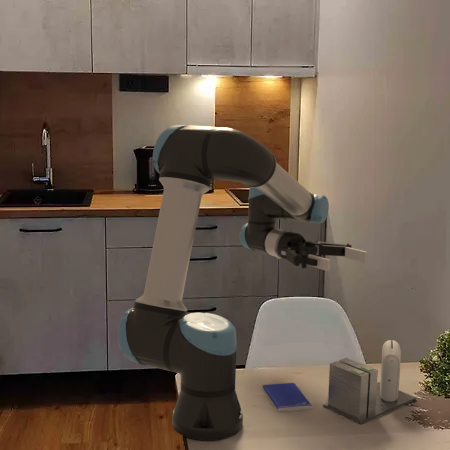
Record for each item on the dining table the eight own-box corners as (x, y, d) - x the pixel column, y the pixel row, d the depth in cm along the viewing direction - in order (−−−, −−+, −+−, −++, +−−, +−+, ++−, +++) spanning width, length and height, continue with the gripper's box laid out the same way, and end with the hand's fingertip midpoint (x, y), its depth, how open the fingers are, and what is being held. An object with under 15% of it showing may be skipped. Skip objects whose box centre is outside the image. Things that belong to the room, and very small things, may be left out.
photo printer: (398, 403, 164) (402, 352, 162) (379, 401, 165) (382, 350, 163) (397, 385, 174) (401, 336, 172) (379, 383, 175) (382, 335, 173)
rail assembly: (360, 424, 155) (363, 377, 153) (322, 406, 163) (325, 361, 161) (416, 399, 168) (419, 356, 166) (378, 384, 176) (381, 342, 174)
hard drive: (312, 404, 162) (294, 382, 174) (277, 406, 160) (262, 384, 172) (311, 410, 162) (294, 388, 174) (277, 413, 161) (262, 390, 172)
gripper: (318, 252, 198) (379, 268, 182) (250, 266, 182) (311, 284, 167) (319, 225, 197) (381, 239, 181) (251, 237, 181) (313, 253, 165)
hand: (348, 261), depth 174 cm, fingers open, 13 cm apart
